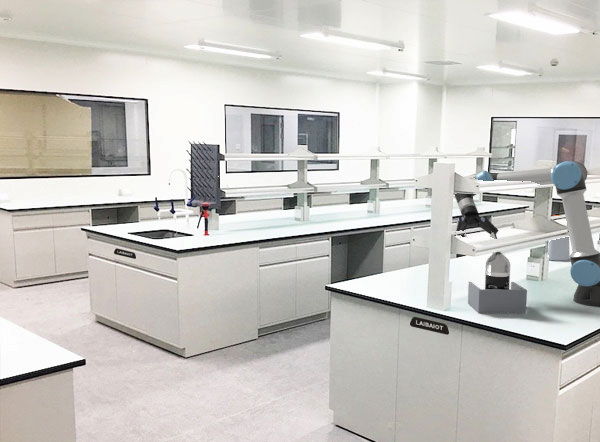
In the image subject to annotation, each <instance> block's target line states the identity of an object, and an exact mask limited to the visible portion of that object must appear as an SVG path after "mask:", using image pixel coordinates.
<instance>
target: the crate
mask: <svg viewBox="0 0 600 442" xmlns="http://www.w3.org/2000/svg"><path fill="white" fill-rule="evenodd" d="M510 282H511V283H510V288H509V289H485V288H483V289H481V288H480V287H479V286H477V284H475V283H473V282H472V281H468V284H467V285H468V286H467V289H468V292H467V304H468V305H469V306H470V307H471V308H472V309H473V310H474V311H475V312H476V313H478V314H526V313H527V300H528V297H527V296H528V290H527V289H526V288H524V287H523V286H522V285H519V284H518V283H516V282H514V281H510Z"/></svg>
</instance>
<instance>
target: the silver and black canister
mask: <svg viewBox="0 0 600 442" xmlns="http://www.w3.org/2000/svg"><path fill="white" fill-rule="evenodd" d="M484 271H485V272H484V274H485V275H484V277H485V278H484V279H485V280H484V283H485V284H484V289H510V282H511V281H510V279H511V262H510V259H508V257H507V256H506V255H505V254H503V253H502V252H501V251H496V252H494V253H493V254H491V255H490V256H489V257H487V259H486V262H485V270H484Z"/></svg>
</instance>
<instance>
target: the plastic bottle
mask: <svg viewBox="0 0 600 442" xmlns="http://www.w3.org/2000/svg"><path fill="white" fill-rule="evenodd" d="M552 216H561V214H560V215H557V214H556V215H555V214H554V215H552ZM570 253H571V252H570V236H569V237H565V238H560V239H556V240H551V241H550V242H549V248H548V255H549V260H553V261H552V262H568V261H570V255H571V254H570ZM549 260H548V261H549Z"/></svg>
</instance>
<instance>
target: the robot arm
mask: <svg viewBox="0 0 600 442" xmlns="http://www.w3.org/2000/svg"><path fill="white" fill-rule="evenodd" d="M472 178H475V179H478V180H483V181H494V180H507V181H522V182H523V181H531V182H535V183H537V184H540V185H539V186H547V185H554V186H555V190H556V195H557V196H558V197H560V199H561V200H562V205H563V210H564V215H565V220H566V221H567V226H568V231H569V242H570V245H571V249H572V250H571V251H572V253H571V254H570V259H569V261H570V264H571V267H570V273H569V274H570V277H571V279H572V280H573V282H574V283H576V284H578V285H577V287H576V289H575V292H574V294H573V301H574V302H575V303H577V304H581V305H586V306H593V307H600V251H598V250H597V249H596V248H595V246H594V240H593V236H592V235H593V234H592V231H591V224H590V220H589V215H588V210H587V205H586V200H585V196H584V194H585V192H586V191H587V186H586V180H587V178H588V169H587V168H586V166H585V165H584V164H583V163H581V162H580V161H575V160H568V161H567V160H565V161H562V162H559V163H558V164H555V165H554V166H553V167H548V168H538V169H537V168H536V169H528V170H526V169H525V170H517V171H507V172H498V173H490V172H489V171H487V170H482V171H481V172H478V173H477V174H476V175H475V176H473V177H472ZM474 196H477V194H455V196H454V198H455V200H456V203H457V206H458V207H459V208H458V209H459V211H460V214H461V216H458V218H457V220H456V221H457V225H456V228H455V229H456V230H455V232H456V231H464V230H465V231H466V230H467V228H468V227H469V226H470V227H478V228H480V229H482V230H483V231H485V232H486V233H488V234H489V237H492V238H494V239H497V240H498V237H497V234H498V232H499V229H498V228H497V227H496V226H495V225H494V224H493V223H492V222H491V221H490V220H489V219H488V217H487V216H486V215H484V216H482V217H481V216H480V215H479V211H478V207H477V205H476V203H475V200H474V198H473V197H474ZM463 222H464V223H465V225H464V226H463V228H462V223H463ZM461 228H462V229H461ZM464 233H465V234H463V235H461V236H462V237H467V238H468V236H467V233H466V232H464Z"/></svg>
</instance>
